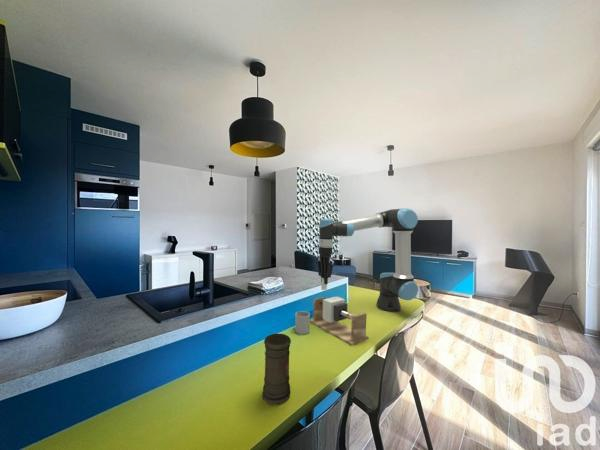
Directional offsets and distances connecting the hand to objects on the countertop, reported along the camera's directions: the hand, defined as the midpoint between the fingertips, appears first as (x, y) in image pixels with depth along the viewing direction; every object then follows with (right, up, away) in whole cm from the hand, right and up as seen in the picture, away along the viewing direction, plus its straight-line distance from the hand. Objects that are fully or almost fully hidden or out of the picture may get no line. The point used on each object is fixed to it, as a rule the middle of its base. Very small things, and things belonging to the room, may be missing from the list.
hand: (324, 289), depth 133 cm
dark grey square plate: (+7, -13, -10) cm, 18 cm away
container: (-21, -19, -55) cm, 62 cm away
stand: (+6, -19, -8) cm, 21 cm away
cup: (-13, -19, -9) cm, 24 cm away
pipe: (+6, -10, -8) cm, 15 cm away
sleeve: (+4, -14, -6) cm, 15 cm away
